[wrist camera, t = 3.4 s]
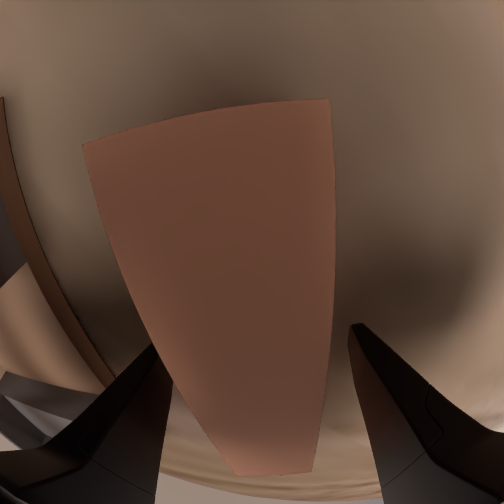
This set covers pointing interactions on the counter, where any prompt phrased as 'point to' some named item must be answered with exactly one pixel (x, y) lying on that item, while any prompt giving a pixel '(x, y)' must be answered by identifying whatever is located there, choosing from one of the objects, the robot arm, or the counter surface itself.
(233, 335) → the rail
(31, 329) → the bracket stand
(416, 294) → the counter surface
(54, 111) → the counter surface
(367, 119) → the counter surface
